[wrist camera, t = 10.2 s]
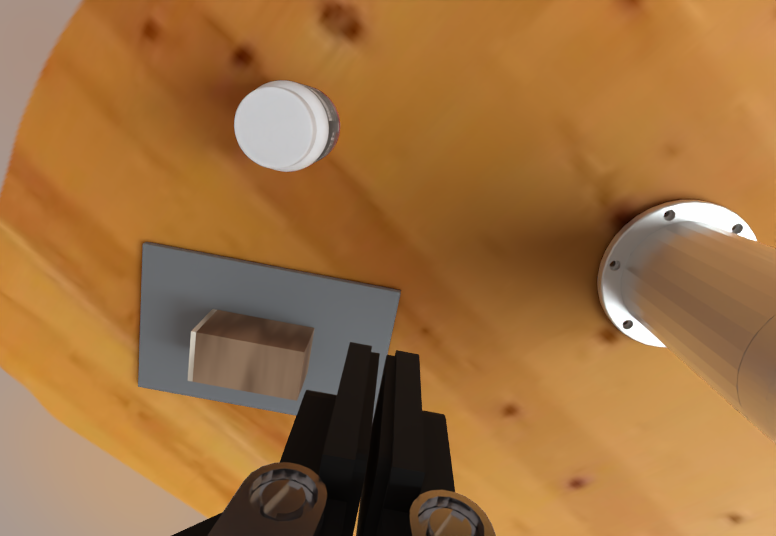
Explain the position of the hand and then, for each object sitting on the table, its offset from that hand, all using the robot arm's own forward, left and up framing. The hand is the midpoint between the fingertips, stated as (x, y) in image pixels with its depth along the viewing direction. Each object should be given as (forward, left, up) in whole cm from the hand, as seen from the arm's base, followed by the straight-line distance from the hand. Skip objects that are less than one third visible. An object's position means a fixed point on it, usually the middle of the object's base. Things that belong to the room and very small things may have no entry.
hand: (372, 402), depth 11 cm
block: (+14, +15, -26) cm, 33 cm away
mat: (+9, +15, -29) cm, 34 cm away
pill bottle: (+8, -4, -29) cm, 31 cm away
